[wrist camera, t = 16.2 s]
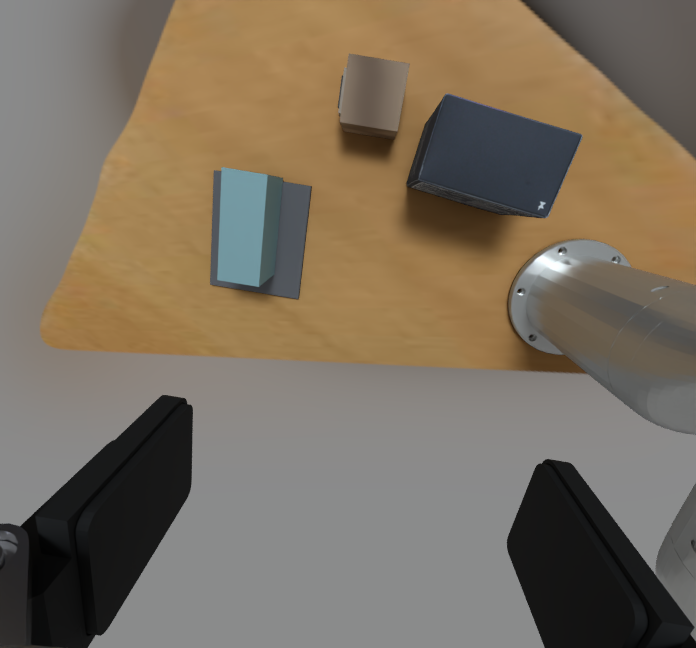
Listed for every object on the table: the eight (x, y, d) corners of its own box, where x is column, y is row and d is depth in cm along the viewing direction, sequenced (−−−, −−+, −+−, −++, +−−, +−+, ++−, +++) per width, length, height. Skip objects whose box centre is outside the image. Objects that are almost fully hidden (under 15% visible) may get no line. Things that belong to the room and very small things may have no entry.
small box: (530, 149, 36) (590, 131, 26) (502, 216, 38) (549, 223, 28) (425, 117, 36) (446, 87, 26) (404, 187, 38) (416, 183, 28)
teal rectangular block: (283, 178, 38) (267, 174, 32) (274, 274, 41) (258, 287, 35) (244, 171, 38) (221, 167, 32) (238, 268, 41) (217, 280, 35)
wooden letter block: (404, 81, 35) (409, 63, 30) (393, 139, 37) (397, 131, 32) (347, 72, 35) (343, 52, 30) (339, 130, 37) (334, 121, 32)
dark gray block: (311, 186, 38) (310, 186, 38) (298, 297, 42) (298, 299, 42) (215, 170, 38) (214, 170, 38) (212, 283, 42) (210, 284, 42)
